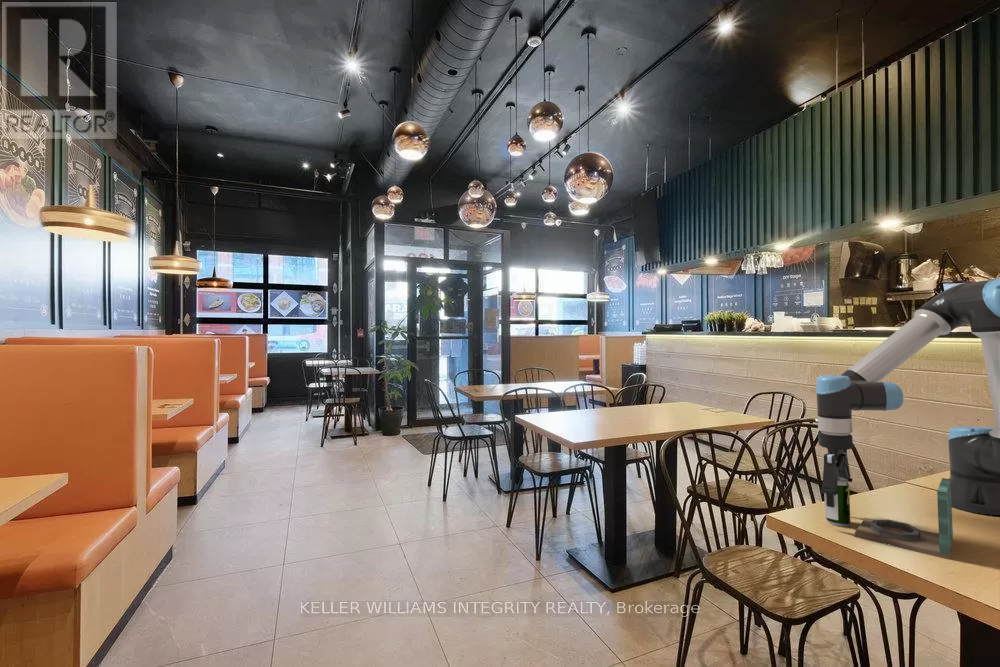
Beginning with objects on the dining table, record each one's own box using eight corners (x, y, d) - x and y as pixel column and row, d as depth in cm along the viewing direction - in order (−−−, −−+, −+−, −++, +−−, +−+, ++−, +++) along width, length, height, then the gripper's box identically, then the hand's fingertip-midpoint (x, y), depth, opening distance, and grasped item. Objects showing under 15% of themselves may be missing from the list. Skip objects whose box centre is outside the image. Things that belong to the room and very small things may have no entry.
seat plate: (865, 521, 124) (862, 466, 124) (953, 540, 111) (950, 479, 111) (854, 536, 115) (852, 477, 115) (949, 559, 102) (946, 492, 103)
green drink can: (827, 524, 122) (825, 480, 122) (824, 517, 127) (823, 474, 127) (852, 528, 120) (850, 482, 120) (848, 521, 124) (847, 477, 125)
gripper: (829, 424, 135) (832, 496, 134) (805, 438, 118) (808, 520, 118) (861, 427, 129) (864, 502, 129) (841, 442, 113) (844, 529, 112)
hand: (837, 511), depth 123 cm, fingers open, 12 cm apart
